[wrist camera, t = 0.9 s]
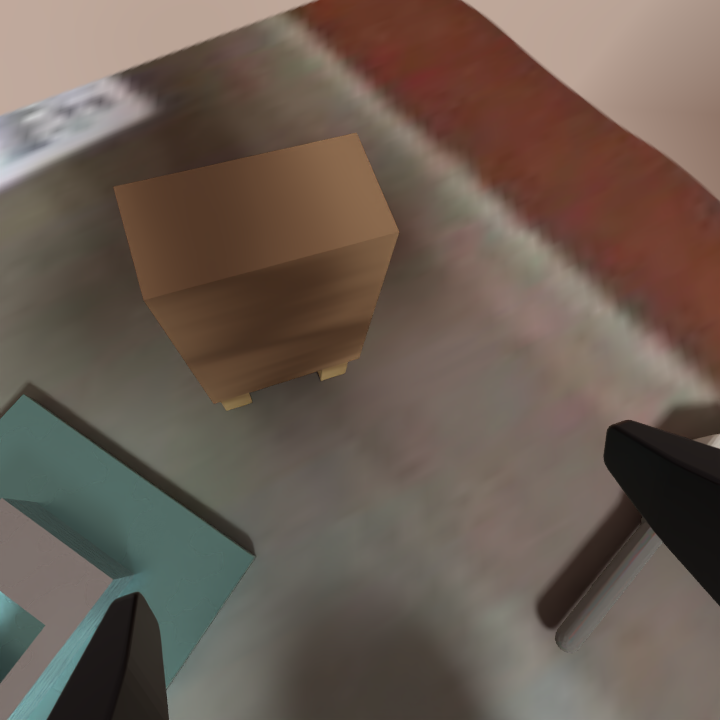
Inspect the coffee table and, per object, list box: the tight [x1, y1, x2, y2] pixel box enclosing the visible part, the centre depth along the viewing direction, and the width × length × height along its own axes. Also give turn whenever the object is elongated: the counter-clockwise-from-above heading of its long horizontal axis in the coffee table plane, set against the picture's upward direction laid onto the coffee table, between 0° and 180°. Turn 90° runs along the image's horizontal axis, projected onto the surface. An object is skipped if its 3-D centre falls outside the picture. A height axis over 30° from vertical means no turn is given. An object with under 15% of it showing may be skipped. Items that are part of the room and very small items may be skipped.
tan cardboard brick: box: [114, 133, 399, 411], centre depth 18 cm, size 6×3×13 cm, turn 110°
